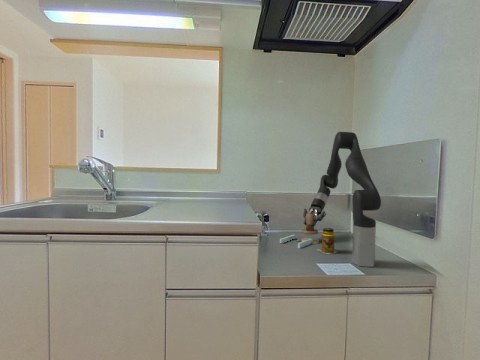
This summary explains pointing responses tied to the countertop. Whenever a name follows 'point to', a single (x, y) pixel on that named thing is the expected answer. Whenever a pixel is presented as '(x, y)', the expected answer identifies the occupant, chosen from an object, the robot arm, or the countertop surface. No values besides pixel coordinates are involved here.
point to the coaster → (313, 240)
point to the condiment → (327, 241)
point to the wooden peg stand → (309, 225)
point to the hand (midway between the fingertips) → (308, 224)
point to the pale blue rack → (298, 241)
